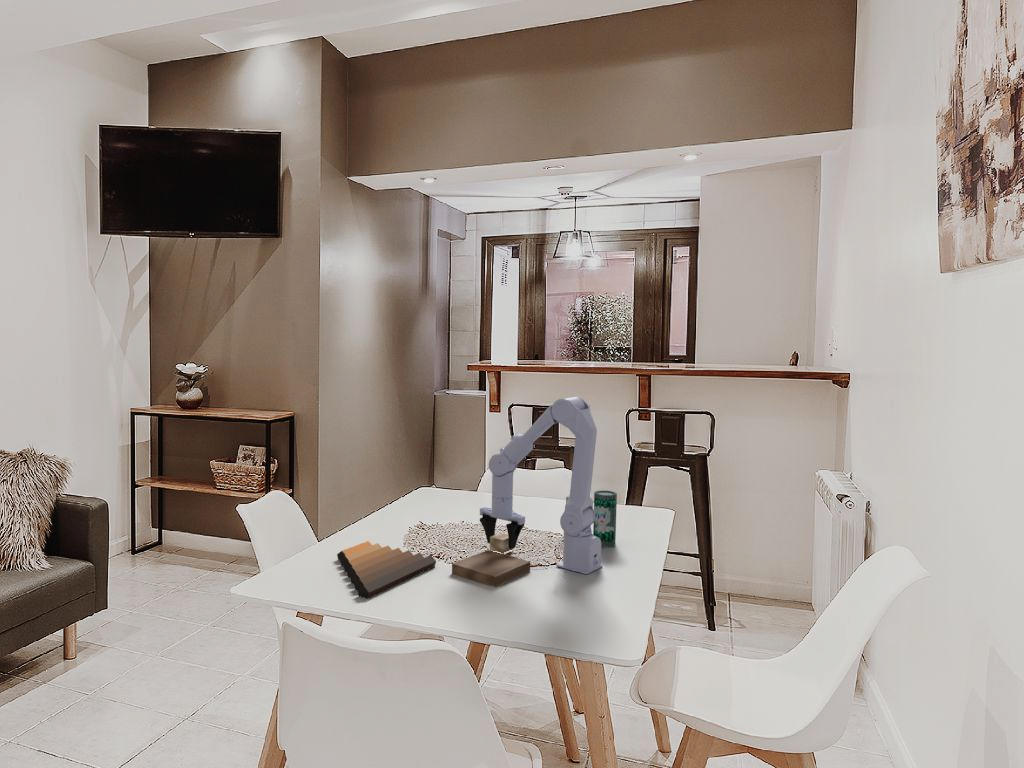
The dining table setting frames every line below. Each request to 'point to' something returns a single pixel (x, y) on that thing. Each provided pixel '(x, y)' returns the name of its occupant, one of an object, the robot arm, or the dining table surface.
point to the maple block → (499, 543)
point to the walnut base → (491, 568)
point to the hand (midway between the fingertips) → (501, 545)
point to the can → (605, 517)
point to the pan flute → (381, 567)
